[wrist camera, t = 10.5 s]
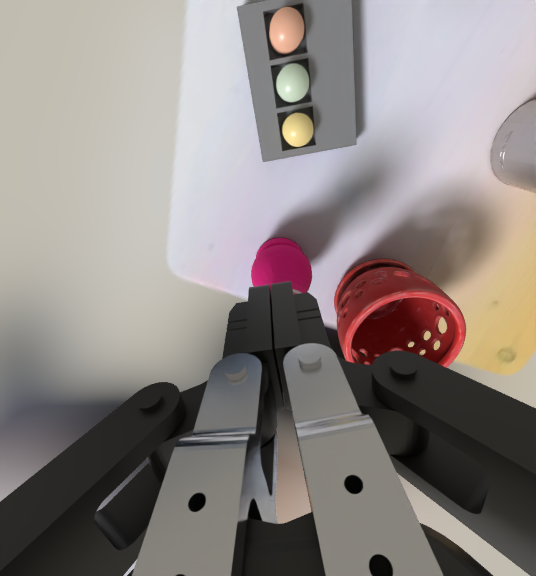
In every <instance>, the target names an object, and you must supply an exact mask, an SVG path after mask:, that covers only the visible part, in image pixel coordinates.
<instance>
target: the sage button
mask: <svg viewBox="0 0 536 576" xmlns="http://www.w3.org/2000/svg"><path fill="white" fill-rule="evenodd" d="M308 88H309V76H308V73H307V71H306V70H305V69H304V68H303V67H302V66H301V65H299V64H295V63H293V64H288V65H286V66H285V67H284V68H283V69H282V70H281V71H280V73H279V75H278V77H277V79H276V91H277V94H278V96H279V97H280V98H281V99H282V100H283V101H286V102H295V101H298V100H300V99H302V98H303V97H304V96H305V94H306V93H307V91H308Z"/></svg>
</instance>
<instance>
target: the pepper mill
mask: <svg viewBox="0 0 536 576" xmlns="http://www.w3.org/2000/svg"><path fill="white" fill-rule="evenodd" d="M251 277H252V283H253V286H254V287H255V286H262V285H268V284H269V285H270V289H271V284H274V283H281V282H287V281H291V284H292V289H293V295H294V294H300V293H307V291H308V290H309V287H310V284H311V281H312V270H311V265H310V263H309V260H308V258H307V257H306V256H305V255H304V254H303V253H302V250H301V248H300V247H299V246H298V245H297V244H296V243H295V242H294V241H292V240H290V239H287V238H274V239H271V240H269V241H267V242H265V243H264V244H263V245H262V246H261V247H260V248H259V250H258V252H257V255H256V259H255V261H254V263H253V266H252V270H251Z"/></svg>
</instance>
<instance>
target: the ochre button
mask: <svg viewBox="0 0 536 576" xmlns="http://www.w3.org/2000/svg"><path fill="white" fill-rule="evenodd" d="M313 130H314V128H313V123H312V121H311V119H310V118H309V117H308V116H307V115H305V114H303V113H292V114H290V115H288V116H287V117H286V118H285V119H284V121H283V123H282V135H283V137H284V139H285V140H286V141H287V142H288V143H289V144H290V145H292V146H295V147H300V146H303V145H305V144H307V143H308V142H309V141H310V139H311V138H312V135H313Z"/></svg>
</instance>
